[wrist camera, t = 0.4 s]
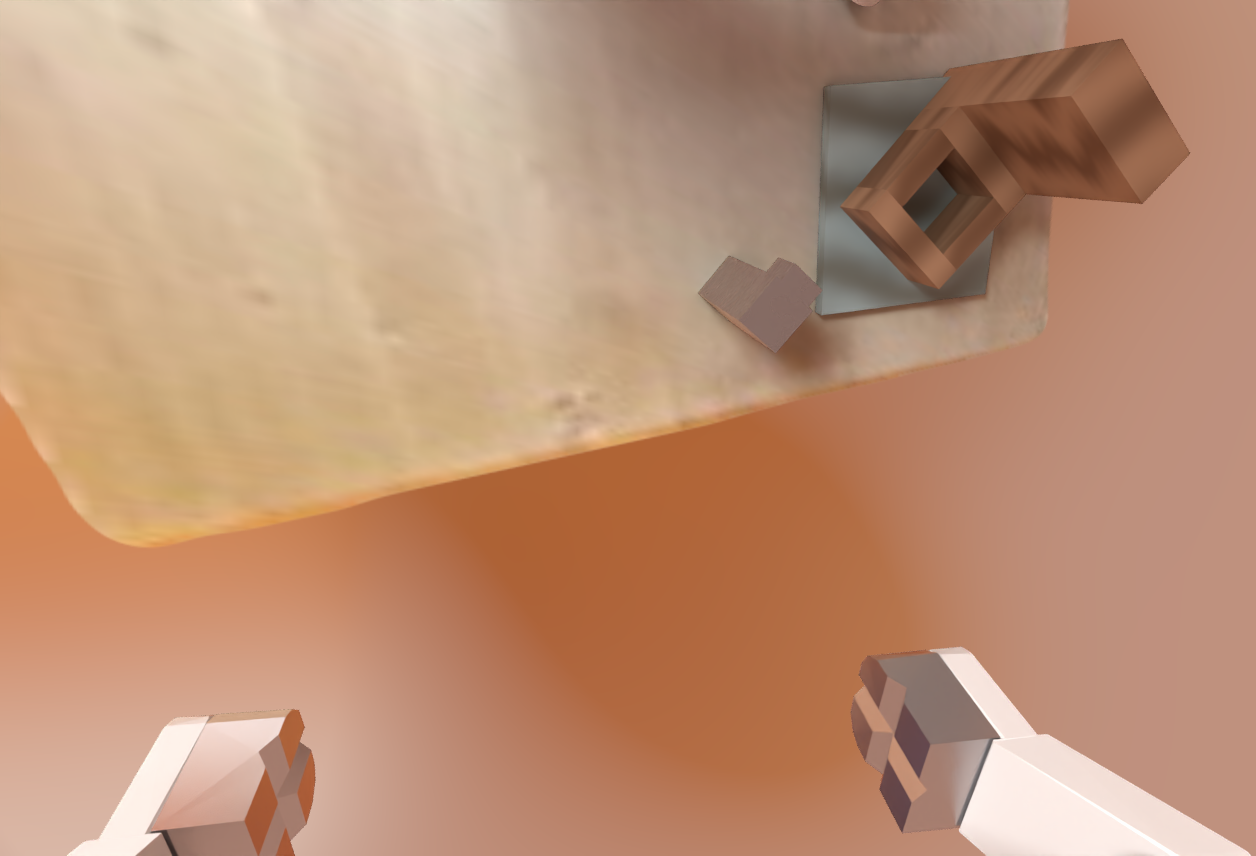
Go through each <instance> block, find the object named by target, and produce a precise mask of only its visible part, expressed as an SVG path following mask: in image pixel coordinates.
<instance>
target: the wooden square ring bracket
mask: <svg viewBox="0 0 1256 856" xmlns="http://www.w3.org/2000/svg"><path fill="white" fill-rule="evenodd" d="M1189 154H1190V152H1189V150H1188V149H1187V147H1186V145H1185V144H1184V142H1183V140H1182V139H1181V137H1180V135H1179V133H1178V132H1177V130H1176V128H1175V127H1174V125H1173V123H1172V122H1171V120H1170V118H1169V116H1168V115H1167V113H1166V111H1165V110H1164V108H1163V106H1162V105H1161V103H1160V101H1159V100H1158V98H1157V96H1156V95H1155V93H1154V91H1153V90H1152V88H1151V86H1150V84H1149V83H1148V81H1147V80H1146V78H1145V76H1144V75H1143V72H1142V71H1141V69H1140V67H1139V66H1138V64H1137V62H1136V61H1135V59H1134V57H1133V56H1132V54H1131V52H1130V50H1129V49H1128V47H1127V46H1126V44H1125V42H1124V40H1123V39H1118V40H1112V41H1107V42H1101V43H1095V44H1089V45H1083V46H1078V47H1072V48H1067V49H1060V50H1055V51H1049V52H1043V53H1037V54H1032V55H1026V56H1020V57H1014V58H1009V59H1003V60H997V61H991V62H986V63H980V64H974V65H968V66H962V67H957V68H951V69H949V70H948V71H947V72H946V73H945V75H944V76H943V77H937V78H923V79H910V80H897V81H884V82H870V83H857V84H844V85H831V86H826V87H824V96H823V123H822V150H821V177H820V204H819V232H818V259H817V285H818V286H819V287H820V288H821V289H822V290H823V291H822V292H821V293H820V294H819V295H818V296H817V297H816V313H818V314H820V315H828V314H836V313H843V312H851V311H859V310H866V309H874V308H881V307H889V306H897V305H904V304H912V303H919V302H927V301H935V300H942V299H950V298H957V297H965V296H973V295H980V294H985V292H986V285H987V277H988V270H989V263H990V256H991V249H992V242H993V234H994V229H995V228H996V226H997V225H998V224H999V223H1000V222H1001V221H1002V220H1003V219H1004V218H1005V217H1006V216H1007V214H1008V213H1009V212H1010V211H1011V210H1012V209H1013V208H1014V207H1015V206H1016V205H1017V203H1018V202H1019V201H1020V200H1021V199H1022V198H1023V197H1024V196H1025V195H1026V194H1029V195H1042V196H1054V197H1066V198H1079V199H1090V200H1103V201H1115V202H1127V203H1139V204H1143V202H1144V201H1145V200H1146V199H1147V198H1148V197H1149V196H1150V195H1151V194H1152V193H1153V192H1154V191H1155V190H1156V189H1157V188H1158V187H1159V186H1160V185H1161V184H1162V183H1163V182H1164V181H1165V180H1166V178H1167V177H1168V176H1169V175H1170V174H1171V173H1172V172H1173V171H1174V170H1175V169H1176V168H1177V167H1178V166H1179V165H1180V164H1181V163H1182V162H1183V161H1184V160H1185V159H1186V158H1187V156H1188V155H1189Z"/></svg>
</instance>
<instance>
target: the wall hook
mask: <svg viewBox="0 0 1256 856" xmlns="http://www.w3.org/2000/svg"><path fill="white" fill-rule="evenodd" d="M852 1H853V2H854V3H856V4H858V5H861V6H867V7H869V6H874V5H876V4H877V3H878V2H879V0H852Z"/></svg>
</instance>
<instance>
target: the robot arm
mask: <svg viewBox="0 0 1256 856" xmlns="http://www.w3.org/2000/svg"><path fill="white" fill-rule="evenodd" d="M859 676H860V678H861V679H862V681H863V683H864V685H865V686H864V687H863V688H862V689H861V690H860V691H859V692H858V693H856V694H855V696H854V698H853V703H852V709H851V719H852V728H853V733H854V736H855V739H856V742H857V746H858V748H859V750H860V752H861V754H862V756H863V758H864V760H865V762H867V763H868V764H870V765H871V766H872V767H873V768H875V769H876V770H877V771H879V772H880V773H881V774H882V778H881V784H880V791H881V793H882V795H883V797H884V799H885V801H886V803H887V805H888V807H889V809H890V811H891V813H892V815H893V816H894V818H895V820H896V822H897V824H898V826H899V828H900V830H901V832H902V833H910V832H921V831H931V830H942V829H952V828H960V829H959V832H960V833H961V834H962V835H964V836H965V837H966V838H967V839H968V840H969V841H970V842H972V843H973V844H974V845H975V846H976V847H977V848H978V849H980V850H981V851H982V852H983V853H984V854H985V855H986V856H1251V855H1250V854H1249V853H1248V852H1247V851H1246V850H1244V849H1242V848H1240V847H1239V846H1237V845H1235V844H1234V843H1232V842H1230V841H1229V840H1227V839H1225V838H1224V837H1222V836H1220V835H1218V834H1217V833H1215V832H1213V831H1211V830H1210V829H1208V828H1206V827H1205V826H1203V825H1201V824H1200V823H1198V822H1196V821H1195V820H1193V819H1191V818H1189V817H1188V816H1186V815H1184V814H1182V813H1181V812H1179V811H1177V810H1176V809H1174V808H1172V807H1171V806H1169V805H1167V804H1166V803H1164V802H1162V801H1160V800H1158V799H1157V798H1155V797H1154V796H1152V795H1150V794H1148V793H1147V792H1145V791H1143V790H1142V789H1140V788H1138V787H1137V786H1135V785H1133V784H1131V783H1130V782H1128V781H1126V780H1125V779H1123V778H1121V777H1119V776H1118V775H1116V774H1114V773H1113V772H1111V771H1109V770H1107V769H1106V768H1104V767H1102V766H1101V765H1099V764H1097V763H1096V762H1094V761H1092V760H1090V759H1089V758H1087V757H1085V756H1084V755H1082V754H1080V753H1079V752H1077V751H1075V750H1073V749H1072V748H1070V747H1068V746H1067V745H1065V744H1063V743H1061V742H1060V741H1058V740H1056V739H1055V738H1053V737H1051V736H1050V735H1048V734H1043V735H1037V734H1036V732H1035V731H1034V730H1033V729H1032V727H1031V726H1030V725H1029V724H1028V723H1027V721H1026V720H1025V719H1024V718H1023V716H1022V715H1021V714H1020V713H1019V711H1018V710H1017V709H1016V708H1015V707H1014V705H1013V704H1012V703H1011V702H1010V700H1009V699H1008V698H1007V697H1006V695H1005V694H1004V693H1003V692H1002V690H1001V689H1000V688H999V687H998V686H997V684H996V683H995V682H994V680H993V679H992V678H991V677H990V676H989V674H988V673H987V672H986V671H985V669H984V668H983V667H982V666H981V664H980V663H979V662H978V661H977V659H976V658H975V657H974V656H973V655H972V653H971V652H970V651H968V650H966V649H965V648H963V647H953V648H943V649H933V650H929V651H928V650H919V651H911V652H901V653H891V654H881V655H872V656H867V657H866V658H865V659H864V661H863V662H862V664H861V668H860V672H859ZM304 728H305V727H304V724H303V721H302V718H301V715H300V712H299V710H294V709H288V710H273V711H258V712H242V713H227V714H216V715H207V716H206V715H205V716H193V717H192V716H191V717H178V718H174V719H173V720H172V721H171V722H170V723H169V724H168V725H166V726H165V728H163V730H162V731H161V733H160V735H159V737H158V738H157V740H156V742H155V743H154V745H153V747H152V748H151V750H150V752H149V754H148V755H147V757H146V759H145V760H144V762H143V764H142V766H141V767H140V769H139V771H138V772H137V774H136V776H135V777H134V779H133V781H132V782H131V784H130V786H129V788H128V789H127V791H126V793H125V795H124V796H123V798H122V800H121V801H120V803H119V805H118V807H117V808H116V810H115V812H114V813H113V815H112V817H111V818H110V820H109V822H108V823H107V825H106V827H105V829H104V831H103V832H102V834H101V835H100V837H99V839H95V840H88V841H84V842H83V843H82V844H80V845H79V846H78V847H77V848H75V849H74V850H73V851H72V852H70V853H69V854H68V855H67V856H295V854H294V851H293V848H292V845H291V842H290V841H291V839H293V837H295V836H296V834H297V833H298V832H299V831H300V830H301V829H302V828H303V827H304V826H305V825H306V824H307V820H308V817H309V813H310V810H311V806H312V802H313V795H314V787H315V764H314V759H313V755H312V752H311V750H310V749H309V748H308V747H306V746H305V745H303V744H302V743H300V739H301V736H302V734H303V730H304Z"/></svg>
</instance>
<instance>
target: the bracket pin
mask: <svg viewBox="0 0 1256 856" xmlns="http://www.w3.org/2000/svg"><path fill="white" fill-rule="evenodd" d="M822 291H823V290H822V289H821V288H820V287H819V286H818V285H817V284H816V283H814V282H813V281H812V280H811V279H810V278H809V277H808V276H807V275H806V274H805V273H804V272H803V271H802V270H801V269H800V268H799V267H798V266H797V265H796V264H794V263H792V262H789V261H786V260H784V259H781V258H778V259H777V260H776V261H775V262H774V263H773V265H772V266H771V267H770V268H769V269H768V270H767V272H765V271H763V270H761V269H758V268H756V267H754V266H752V265H749V264H747V263H745V262H742V261H740V260H738V259H735V258H733V257H731V256H728V257H727V259H726V260H725V261H724V262H723V263H722V265H721V266H720V267H719V268H718V269H717V271H716V272H715V273H714V274H713V275H712V277H711V278H710V279H709V280H708V281H707V283H706V284H705V285H704V286H703V287H702V289H701V290H700V291H699V292H698V294H699V295H700V296H702V297H703V298H704V299H705V300H706V301H707V302H708V303H710V304H711V305H712V306H713V307H714V308H715V309H716V310H717V311H719V312H720V313H721V314H722V315H723V316H724V317H725V318H727V319H728V320H729V321H730V322H731V323H733V324H734V325H736V326H737V327H739V328H740V329H741V330H743V331H744V332H746V333H747V334H749V335H750V336H751V337H753V338H754V339H756V340H757V341H759V342H760V343H761V344H763V345H764V346H766V347H767V348H769V349H770V350H772V351H773V352H774V353H776V352H777V351H778V350H779V349H780V348H781V346H782V345H783V344H784V343H785V342H786V341H787V340H788V339H789V337H790V336H791V335H792V334H793V333H794V332H795V331H796V329H797V328H798V327H799V326H800V325H801V324H802V323H803V321H804V320H805V319H806V318H807V317H808V316H809V315H810V313H811V312H812V310H811V309H810V308H809V305H810V304H811V303H812V302H813V301H814V300H815V299H816V297H817V296H818V295H819V294H820V293H821V292H822Z"/></svg>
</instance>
